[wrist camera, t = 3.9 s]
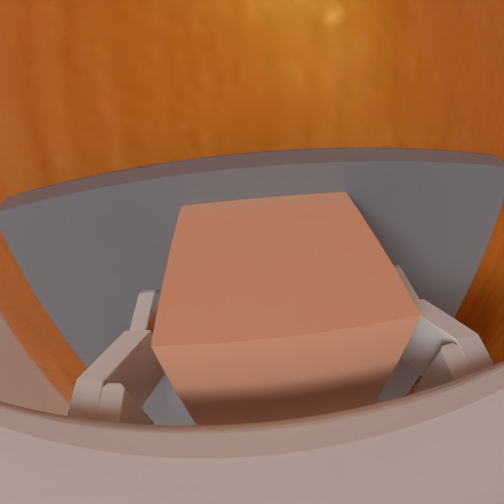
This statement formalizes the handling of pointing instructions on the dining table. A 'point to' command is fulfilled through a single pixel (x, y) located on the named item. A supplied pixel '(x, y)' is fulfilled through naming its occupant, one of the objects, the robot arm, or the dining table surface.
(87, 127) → the dining table surface
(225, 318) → the terracotta block
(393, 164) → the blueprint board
